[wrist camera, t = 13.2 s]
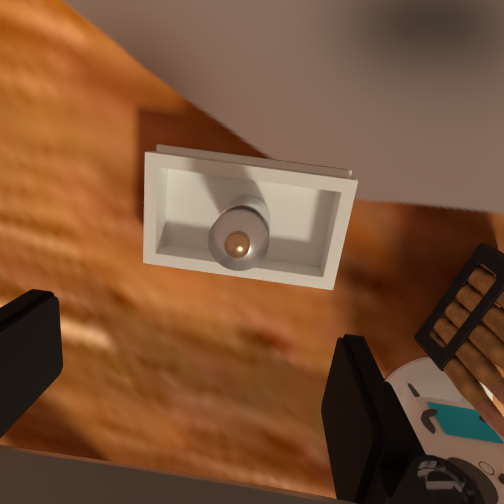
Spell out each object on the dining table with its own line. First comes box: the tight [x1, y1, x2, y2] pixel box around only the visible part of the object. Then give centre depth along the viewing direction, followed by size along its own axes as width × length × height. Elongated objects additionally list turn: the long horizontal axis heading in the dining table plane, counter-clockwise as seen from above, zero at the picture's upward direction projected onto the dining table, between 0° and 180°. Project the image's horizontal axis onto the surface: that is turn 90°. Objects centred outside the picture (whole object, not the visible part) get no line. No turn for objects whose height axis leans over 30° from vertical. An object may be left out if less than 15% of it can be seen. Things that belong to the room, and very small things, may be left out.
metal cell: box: [208, 195, 270, 271], centre depth 24 cm, size 4×4×8 cm
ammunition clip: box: [415, 243, 504, 438], centre depth 24 cm, size 11×2×12 cm, turn 157°
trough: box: [143, 144, 358, 290], centre depth 27 cm, size 10×16×4 cm, turn 83°
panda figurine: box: [385, 356, 504, 504], centre depth 27 cm, size 12×11×15 cm
